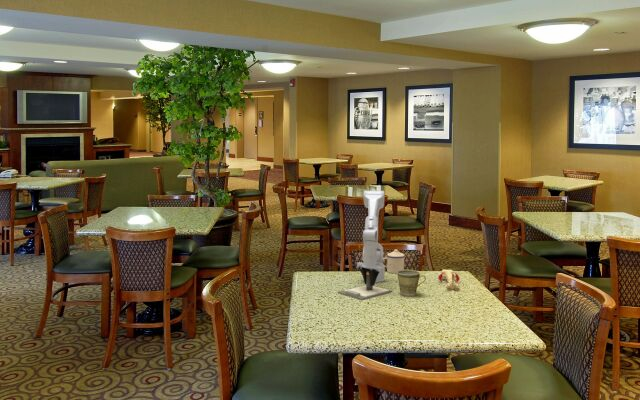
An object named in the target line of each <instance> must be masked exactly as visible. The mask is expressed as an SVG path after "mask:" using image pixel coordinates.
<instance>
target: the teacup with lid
mask: <svg viewBox="0 0 640 400" xmlns="http://www.w3.org/2000/svg"><path fill="white" fill-rule="evenodd" d="M405 257H406V255H405V254H404V253H402V252H400V251H399V250H398V249H394V250H393V251H391V252H389V253H387V255H386V256H385V257H383V262H384V260H386V263H387V264H386V265H385V264H384V263H383V262H382V263H383V264H384V267H385V268H386V272H387V273H389V274H394V273H396V274H395V275H397V272H398V271H400V270H405Z"/></svg>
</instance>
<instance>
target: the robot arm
mask: <svg viewBox="0 0 640 400" xmlns="http://www.w3.org/2000/svg"><path fill="white" fill-rule="evenodd" d="M363 204H364V208H367V209H368V212H367V213H368V214H367V215H368V216H366V217H365V220H364V221H365V222H364V223H365V224H364V229H363V232H362V241H363V247H362V258H361V259H362V261H363V262H362V261H359V262H356V267H357V268H360V269H359V272H360V273H361V275H362V277H363V278H361V281H362V282H363V283H364V285H366V272H367V271H368V272H369V276H370V286H376V285H375V284H376V283H381V282H383V281H386V278H385V274H386V273H385V270H386V267H384V265H385V264H384V263H382V262H384V260H383V258H384V247H383V245H382V244H380V243H379V242H378V241H379V215H380V214H379V213H380V210H381V209H383V208H384V206H385V191H384V190H366V189H365V190H363Z"/></svg>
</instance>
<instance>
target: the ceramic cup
mask: <svg viewBox="0 0 640 400" xmlns="http://www.w3.org/2000/svg"><path fill="white" fill-rule="evenodd" d="M396 276H397V281H398V286H399V287H398V288H399V292H400V293H399V294H400V295H402V296H405V297H414V296H416V294H417V289H418V287H420V286H421V285H422V284H423V283H425V281H427V278H426V276H425V275H424V274H423V275H421V272H420V271H419V270H415V269H404V270H400V271H398V272H397V274H396ZM421 278H424V280H423V281H422V282H420V283H419V280H420V279H421Z"/></svg>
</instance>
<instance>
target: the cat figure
mask: <svg viewBox="0 0 640 400" xmlns="http://www.w3.org/2000/svg"><path fill="white" fill-rule="evenodd" d="M437 277H438V280H439V282H441V283H442V284H444V282H443V280H444V281H445V280H446V281H447V283H446V291H447V292H451V291H452V290H453V289H454V291H456V292H459V291H460V287H459V284H458V282H459V281H460V276H459V274H458V273H457V272H455V271H454V270H453V269H442V270H441V273H439V274H437Z"/></svg>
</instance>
